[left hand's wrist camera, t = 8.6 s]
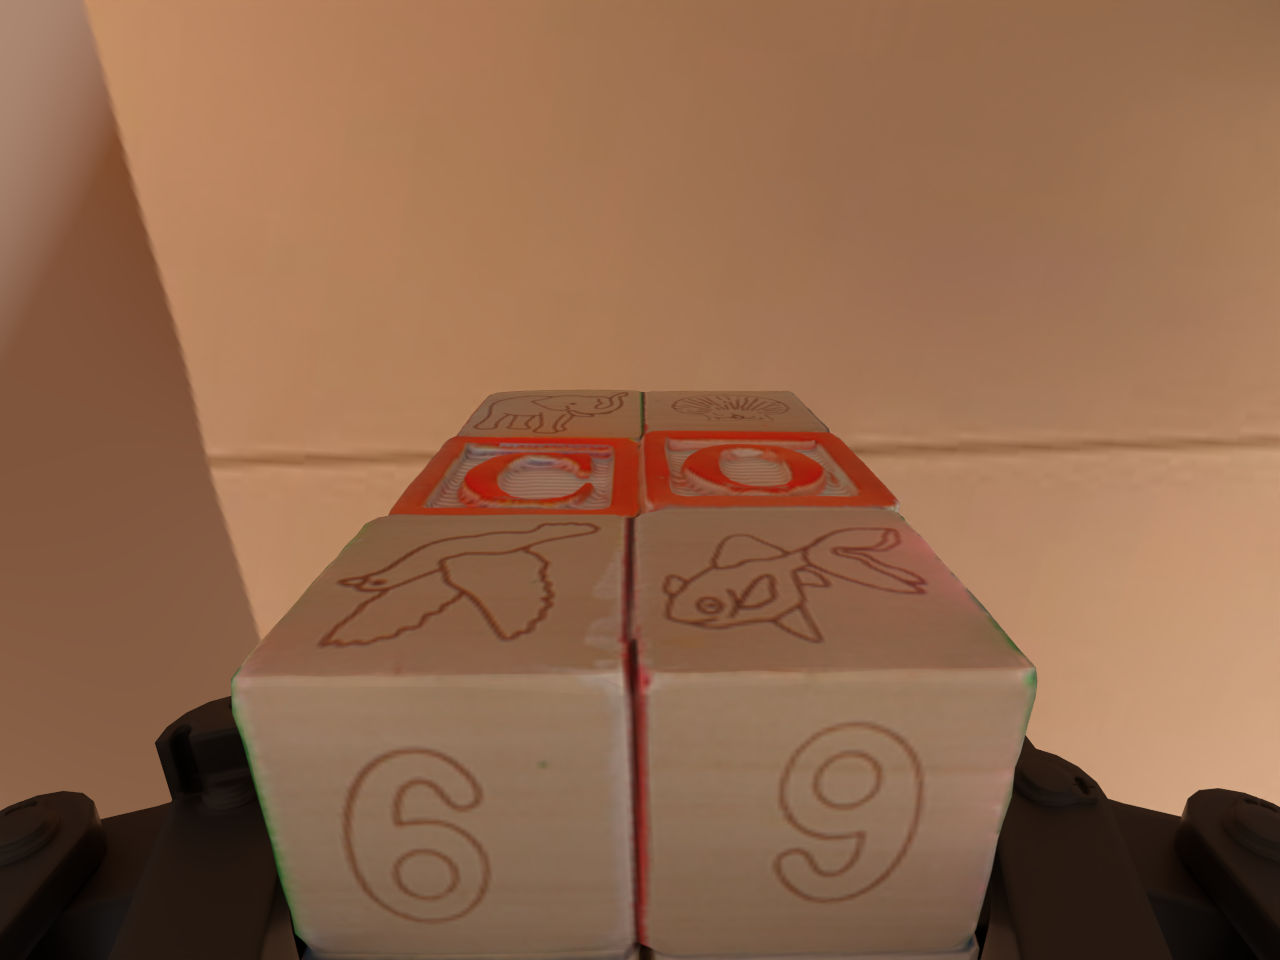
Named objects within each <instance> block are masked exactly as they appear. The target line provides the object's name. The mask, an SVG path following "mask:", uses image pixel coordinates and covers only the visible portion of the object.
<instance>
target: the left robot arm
mask: <svg viewBox="0 0 1280 960" xmlns="http://www.w3.org/2000/svg"><path fill="white" fill-rule="evenodd" d="M155 745H156V748H157V751H158V755H159V758H160V761H161V764H162V767H163V771H164V774H165V777H166V781H167V784H168V787H169V790H170V794H171V797H172V802H170V803H166V804H163V805H160V806H156V807H152V808H147V809H143V810H139V811H135V812H131V813H126V814H122V815H117V816H113V817H109V818H105V819H100V818H99V815H98V812H97V809H96V806H95V804H94V801H93V800H91V799H90V798H89V797H87V796H86V795H85V794H83V793H77V792H68V791H61V792H56V793H50V794H44V795H38V796H35V797H32V798H30V799H27V800H24V801H22V802H18V803H16V804H14V805H11V806H8V807H7V808H5V809H3V810H1V811H0V960H302V957H303V954H304V951H305V948H306V944H305V943H304V942H303V941H302V940H301V939H300V938H299V937H298V936H297V935H296V934H295V930H294V925H293V920H292V915H291V911H290V908H289V906H288V903H287V901H286V898H285V894H284V891H283V888H282V885H281V881H280V878H279V875H278V871H277V866H276V862H275V858H274V854H273V849H272V845H271V841H270V837H269V834H268V831H267V827H266V824H265V820H264V817H263V813H262V810H261V806H260V803H259V799H258V796H257V792H256V789H255V785H254V782H253V778H252V774H251V771H250V767H249V763H248V760H247V756H246V753H245V749H244V745H243V742H242V739H241V736H240V733H239V730H238V728H237V725H236V722H235V720H234V717H233V714H232V696H229V697H226V698H222V699H218V700H214V701H211V702H208V703H206V704H204V705H202V706H200V707H198V708H196V709H193V710H191V711H189V712H187V713H185V714H184V715H183V716H181V717H180V718H179V719H177V720H176V721H175V722H173V723H172V724H171V725H169V726H168V727H167V728H166V729H165V730H164V732H163V733H162V734H161V735H160V737H159V738H158V739H157V741H156V742H155ZM975 936H976V939H977V942H978V946H979V954H978V959H977V960H1280V807H1279V806H1277V805H1275V804H1273V803H1270V802H1268V801H1265V800H1263V799H1260V798H1257V797H1254V796H1251V795H1249V794H1246V793H1242V792H1237V791H1231V790H1225V789H1220V788H1216V789H1206V790H1199V791H1197V792H1196V793H1195V794H1193V795H1192V796H1191V797H1189V798H1188V800H1187V803H1186V805H1185V808H1184V811H1183V814H1182V816H1181V817H1180V816H1175V815H1171V814H1167V813H1163V812H1158V811H1154V810H1150V809H1145V808H1141V807H1137V806H1132V805H1128V804H1124V803H1120V802H1117V801H1114V800H1111V799H1108V798H1107V797H1106V795H1105V794H1104V792H1103V791H1102V789H1101V788H1100V786H1099V785H1098V783H1097V782H1096V781H1095V780H1093V779H1092V778H1091V777H1090V776H1089V775H1087V774H1086V773H1085V772H1084V771H1083V770H1082V769H1080V768H1079V767H1078V766H1076V765H1074V764H1072V763H1070V762H1068V761H1066V760H1065V759H1063V758H1061V757H1059V756H1057V755H1054V754H1051V753H1048V752H1045V751H1042V750H1038V749H1036V748H1035V747H1034V746H1033V744H1032V743H1031V742H1030V740H1029V739H1028V738H1027V737H1026V735H1025V738H1024V742H1023V745H1022V749H1021V753H1020V756H1019V758H1018V761H1017V764H1016V766H1015V771H1014V780H1013V790H1012V797H1011V800H1010V803H1009V806H1008V809H1007V812H1006V815H1005V818H1004V821H1003V824H1002V827H1001V831H1000V834H999V837H998V841H997V846H996V851H995V856H994V861H993V866H992V871H991V874H990V878H989V882H988V886H987V890H986V893H985V897H984V901H983V905H982V908H981V912H980V916H979V919H978V923H977V926H976V930H975Z"/></svg>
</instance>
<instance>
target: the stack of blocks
mask: <svg viewBox="0 0 1280 960" xmlns="http://www.w3.org/2000/svg"><path fill="white" fill-rule="evenodd" d="M899 506H900V503H899V501H898V500H897V499H896V497H895V496H894V495H893V494H892V492H891V491H890V490H889V489H888V488H887V487H886V486H885V485H884V484H883V483H882V482H881V481H880V480H879V479H878V478H877V477H876V476H875V475H874V473H873V472H872V471H871V470H870V469H869V468H868V467H867V466H866V465H865V464H864V463H863V462H862V461H861V460H860V459H859V458H858V457H857V456H856V455H855V454H854V453H853V452H852V451H851V450H850V449H849V448H848V447H847V446H846V445H845V444H844V442H843V441H842V440H841V439H840V438H839V437H837V436H835V435H833V434H831V433H830V431H829V429H828V428H827V427H826V426H825V425H824V424H823V423H822V422H821V421H820V420H819V419H818V418H817V417H816V416H815V415H814V414H813V413H812V412H811V410H810V409H808V408H807V407H806V406H805V405H804V404H803V403H802V402H801V401H800V400H799V399H798V398H797V397H796V396H795V395H794V394H793V393H791V392H788V391H762V392H752V391H731V392H703V391H653V392H639V391H626V390H542V391H517V392H501V393H495V394H492V395H490V396H489V397H487V399H486V400H485V401H484V402H483V403H482V404H481V405H480V406H479V407H478V408H477V410H476V411H475V412H474V413H473V414H472V415H471V417H470V418H469V420H468V421H467V423H466V424H465V425H464V426H463V427H462V430H461V431H460V432H459V433H458V435H457V436H455V437H453V438H451V439H449V440H448V441H447V442H446V443H444V445H443V446H442V448H441V449H440V450H439V452H438V453H437V454H436V455H435V456H434V457H433V458H432V459H431V461H430V462H429V463H428V465H427V466H426V467H425V469H424V470H423V471H422V472H421V473H420V474H419V475H418V476H417V478H416V479H415V480H414V481H413V482H412V483H411V484H410V485H409V486H408V488H407V489H406V490H405V492H404V493H403V494H402V496H401V497H400V498H399V500H398V501H397V502H396V504H395V505H394V506H393V508H392V509H391V511H390V513H389V515H388V516H385V517H380V518H377V519H375V520H373V521H371V522H368V523H366V524H365V525H364V526H363V528H362V529H361V530H360V531H359V533H358V534H357V535H356V536H355V537H354V538H353V539H352V540H351V541H350V542H349V543H348V544H347V545H346V546H345V547H344V549H343V550H342V551H341V553H340V554H339V555H338V557H337V558H336V559H335V560H334V561H333V562H332V563H331V564H329V565H328V566H327V568H326V569H325V570H324V571H323V572H322V574H321V575H320V576H319V577H318V578H317V579H316V580H315V581H314V582H313V583H312V584H311V585H310V587H309V588H308V589H307V590H306V591H305V593H304V594H303V595H302V596H301V597H300V599H299V600H298V601H297V602H296V603H295V605H294V606H293V607H292V608H291V609H290V610H289V611H288V612H287V614H286V615H285V616H284V617H283V618H282V619H281V620H280V621H279V622H278V623H277V624H276V626H275V627H274V628H273V629H272V630H271V631H270V632H269V633H268V634H267V635H266V636H265V638H264V639H263V640H262V641H261V642H260V643H259V644H258V645H257V646H256V647H255V648H254V650H253V651H252V652H251V653H250V654H249V655H248V656H247V658H246V659H245V661H244V662H243V663H242V665H241V666H240V668H239V669H238V670H237V672H236V673H235V674H234V676H233V677H232V679H231V695H232V714H233V717H234V720H235V722H236V725H237V728H238V730H239V733H240V736H241V739H242V742H243V745H244V749H245V753H246V756H247V760H248V763H249V767H250V771H251V774H252V778H253V782H254V785H255V789H256V792H257V796H258V799H259V803H260V806H261V810H262V813H263V817H264V820H265V824H266V827H267V831H268V834H269V837H270V841H271V845H272V849H273V854H274V858H275V862H276V866H277V871H278V875H279V878H280V881H281V885H282V888H283V891H284V894H285V898H286V901H287V903H288V906H289V908H290V911H291V915H292V920H293V925H294V930H295V934H296V935H297V936H298V937H299V938H300V939H301V940H302V941H303V942H304V943H305V944H306V948H305V951H304V954H303V957H302V960H977V959H978V954H979V946H978V942H977V939H976V936H975V930H976V926H977V923H978V919H979V916H980V912H981V908H982V905H983V901H984V897H985V893H986V890H987V886H988V882H989V878H990V874H991V871H992V866H993V861H994V856H995V851H996V846H997V841H998V837H999V834H1000V831H1001V827H1002V824H1003V821H1004V818H1005V815H1006V812H1007V809H1008V806H1009V803H1010V800H1011V797H1012V790H1013V780H1014V771H1015V766H1016V764H1017V761H1018V758H1019V756H1020V753H1021V749H1022V745H1023V742H1024V738H1025V734H1026V730H1027V726H1028V722H1029V718H1030V715H1031V711H1032V707H1033V704H1034V700H1035V696H1036V688H1037V674H1036V667H1035V666H1034V665H1033V664H1032V663H1031V662H1030V660H1029V659H1028V658H1027V657H1026V656H1025V655H1024V654H1023V653H1022V652H1021V651H1020V650H1019V649H1018V647H1017V646H1016V645H1015V644H1014V643H1013V641H1012V640H1011V639H1010V638H1009V637H1008V635H1007V634H1006V633H1005V632H1004V630H1003V629H1002V628H1001V627H1000V626H999V624H998V623H997V622H996V621H995V620H994V618H993V617H992V616H991V615H990V614H989V612H988V611H987V610H986V609H985V608H984V606H983V605H982V604H981V603H980V602H979V601H978V600H977V599H976V598H975V597H974V595H973V594H972V593H971V592H970V591H969V590H968V589H967V588H966V587H965V586H964V584H963V583H962V582H961V581H960V580H959V579H958V578H957V577H956V576H955V575H954V574H953V573H952V572H951V571H950V570H949V568H948V567H947V566H946V565H945V564H944V563H943V562H942V561H941V560H940V559H939V558H938V557H937V555H936V554H935V553H934V551H933V550H932V549H931V548H930V546H929V545H928V544H927V543H926V541H925V540H924V539H923V538H922V537H921V536H920V535H919V534H918V533H917V532H916V531H915V530H914V529H913V528H912V527H911V526H910V525H909V524H908V523H907V522H906V521H905V519H904V518H903V517H902V516H901V515H900V514H899Z"/></svg>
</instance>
